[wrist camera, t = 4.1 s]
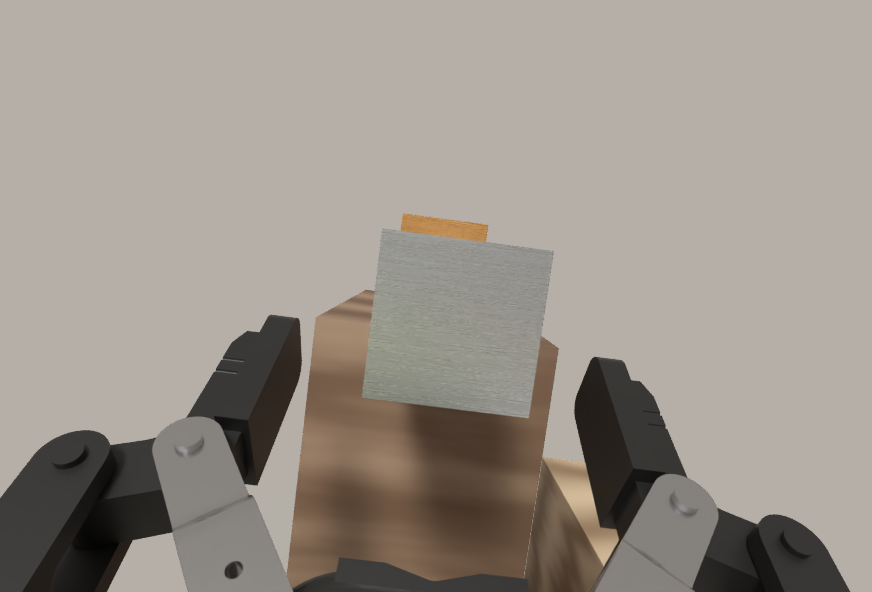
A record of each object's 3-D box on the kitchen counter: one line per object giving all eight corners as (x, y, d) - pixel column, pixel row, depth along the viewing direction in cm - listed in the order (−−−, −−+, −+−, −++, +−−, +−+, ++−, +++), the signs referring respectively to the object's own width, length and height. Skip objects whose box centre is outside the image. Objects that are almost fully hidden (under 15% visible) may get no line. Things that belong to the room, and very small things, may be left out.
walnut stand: (454, 1027, 23) (558, 348, 20) (238, 1007, 23) (316, 317, 20) (444, 711, 39) (501, 307, 36) (316, 697, 39) (365, 289, 36)
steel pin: (576, 424, 10) (617, 158, 10) (313, 391, 10) (344, 120, 10) (471, 303, 36) (481, 228, 36) (396, 294, 36) (405, 218, 36)
